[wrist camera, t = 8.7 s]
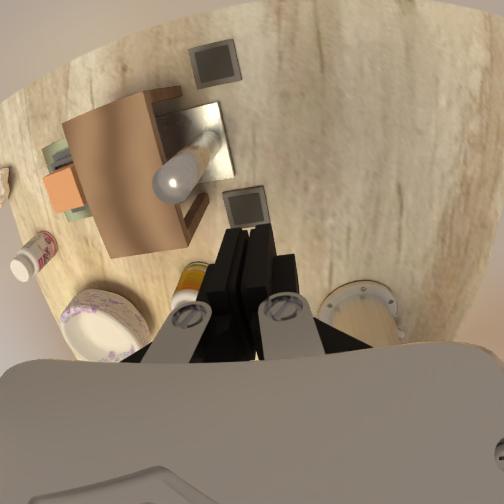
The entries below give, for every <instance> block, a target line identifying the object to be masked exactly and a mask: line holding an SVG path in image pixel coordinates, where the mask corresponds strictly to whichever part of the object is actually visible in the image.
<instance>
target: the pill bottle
mask: <svg viewBox="0 0 504 504" xmlns="http://www.w3.org/2000/svg"><path fill="white" fill-rule="evenodd" d="M56 253H57V243H56V241H55V239H54V238H53V236H52V235H51V234H49V233H48V232H44V231H42V232H39V233H38V234H37V235H35V236H34V237H33V238H32V239H31V240H30V241H29V242H28V243H26V244H25V245H24V246H23V247H22V248H21V249H20V250H19V251H18V253H17V256H16V257H15V258H14V259H13V260H12V261H11V265H10V266H11V270H12V272H13V274H14V275H15V277H16V278H17V279H18V280H20V281H22V282H26V281H28V280H29V279H30V278H31V277H32V276H34V275H36V274H37V273H38V272H39V271H40V270H41V269H42V268H43V267H44V266H45V265H46V264H47V263H48V262H49V261H50V260H51V259H52V258H53V256H54V255H55V254H56Z"/></svg>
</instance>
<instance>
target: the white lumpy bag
mask: <svg viewBox="0 0 504 504" xmlns="http://www.w3.org/2000/svg"><path fill="white" fill-rule="evenodd" d="M8 176H9V169H8V168H3V169H0V208H2V207H3V205H4V203H5V201H6V199H7V197H8V195H9V191H10V188H9V184H8Z"/></svg>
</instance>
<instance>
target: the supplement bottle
mask: <svg viewBox="0 0 504 504" xmlns="http://www.w3.org/2000/svg"><path fill="white" fill-rule="evenodd" d="M207 267H208V265H207V264H205V263H192V264H189V265H188V266H187V267H186V268H185V269H184V271H183V273H182V275H181V277H180V280H179V282H178V285H177V287H176V290H175V292H174V294H173V297H172V300H171V310H172V311H173V310H174V309H175V308H177V307H178V306H180V305H182V304H184V303H188V302H192V301H196V298H197V295H198V292H199V289H200V286H201V283H202V281H203V278H204V275H205V272H206V269H207Z"/></svg>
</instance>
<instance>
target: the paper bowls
mask: <svg viewBox="0 0 504 504" xmlns="http://www.w3.org/2000/svg"><path fill="white" fill-rule="evenodd" d="M60 328H61V332H62V335H63V337H64V339H65V341H66V342H67V344H68V345H69V347H70V348H71V349H72V350H73V351H74V352H75V353H76V354H77V355H78V356H79V357H80V358H81V359H83V360H84V361H96V362H117V363H119V362H120V361H122V360H123V359H125V358H127V357H128V356H130V355H131V354H133V353H135V352H136V351H138V350H140V349H141V348H143V347H144V346H146V345H148V344H149V343H150V331H149V327H148V325H147V323H146V321H145V319H144V318H143V316H142V315H141V314H140V313H139V311H138V310H137V309H136V308H135V306H134V305H133V304H132V303H131V302H129V301H128V300H127V299H125V298H124V297H122V296H120V295H118V294H116V293H113V292H108V291H104V290H97V289H88V290H84V291H81V292H79V293H78V294H77V295H76V296H75V297H74V298H73V299H72V300H71V302H70V303H69V305H68V306H67V307H66V309H65V310H64V311H63V313H62V315H61V318H60Z"/></svg>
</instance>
